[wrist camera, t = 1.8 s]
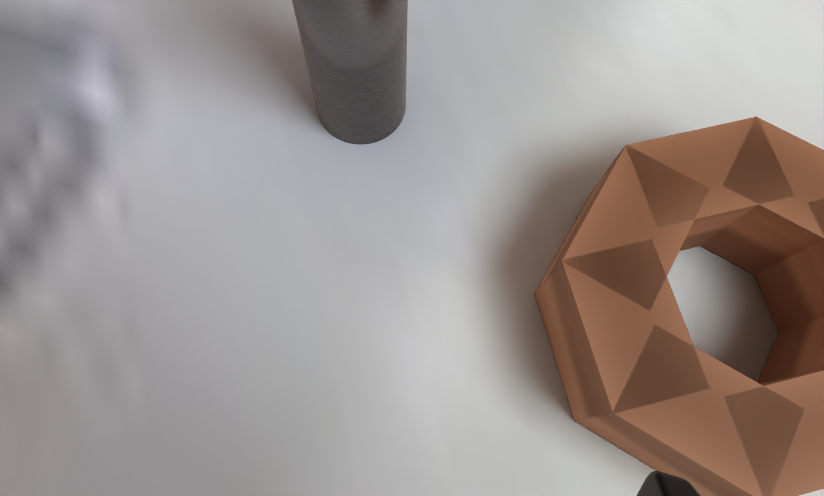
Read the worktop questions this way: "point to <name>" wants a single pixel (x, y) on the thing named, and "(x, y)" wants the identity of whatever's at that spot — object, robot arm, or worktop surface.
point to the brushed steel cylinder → (356, 64)
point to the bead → (662, 321)
